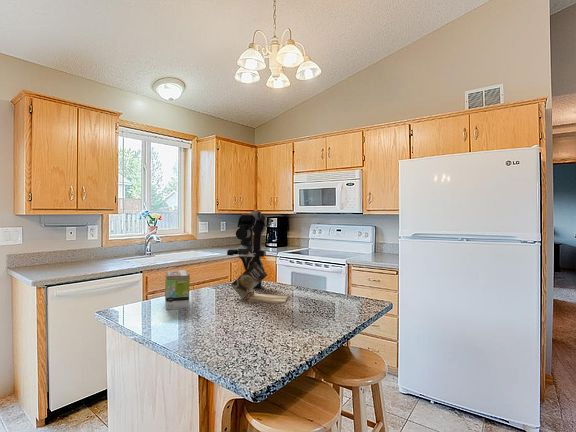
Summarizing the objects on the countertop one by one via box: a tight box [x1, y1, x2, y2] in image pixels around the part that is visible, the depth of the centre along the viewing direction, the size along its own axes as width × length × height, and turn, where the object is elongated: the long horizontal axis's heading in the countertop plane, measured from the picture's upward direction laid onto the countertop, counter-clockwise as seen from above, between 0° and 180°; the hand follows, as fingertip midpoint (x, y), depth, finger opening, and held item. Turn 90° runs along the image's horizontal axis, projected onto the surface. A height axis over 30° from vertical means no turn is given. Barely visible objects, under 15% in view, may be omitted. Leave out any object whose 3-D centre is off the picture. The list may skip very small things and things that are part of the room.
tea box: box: [164, 269, 191, 310], centre depth 151 cm, size 15×10×15 cm
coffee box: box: [230, 262, 268, 299], centre depth 164 cm, size 9×6×16 cm
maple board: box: [247, 293, 289, 304], centre depth 163 cm, size 13×18×1 cm
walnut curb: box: [244, 289, 255, 302], centre depth 165 cm, size 14×1×2 cm, turn 172°
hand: (246, 270), depth 165 cm, fingers closed
